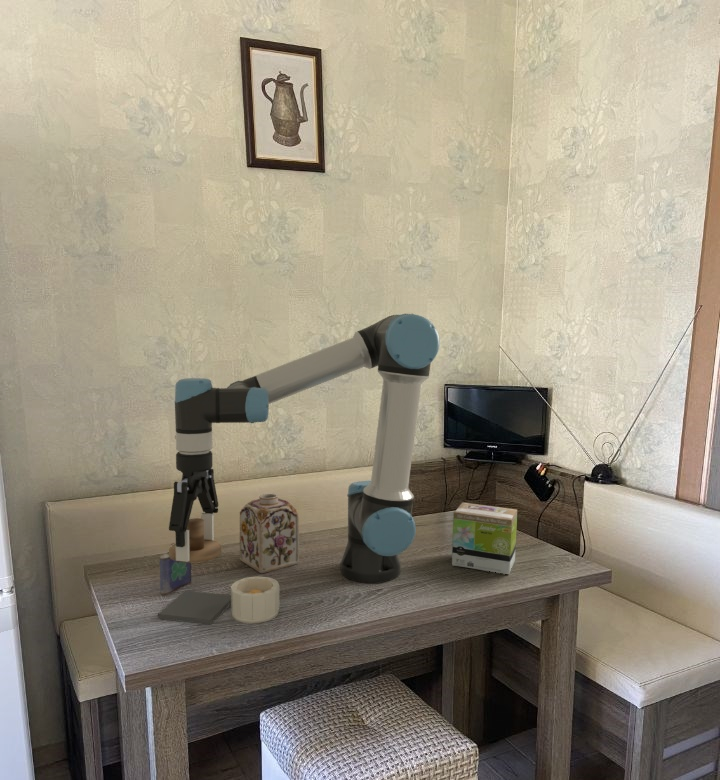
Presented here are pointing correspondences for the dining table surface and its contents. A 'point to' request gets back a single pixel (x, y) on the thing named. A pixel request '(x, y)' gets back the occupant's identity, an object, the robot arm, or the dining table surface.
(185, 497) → the robot arm
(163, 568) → the flask
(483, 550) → the tea box
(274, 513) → the decorative jar
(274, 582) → the bowl
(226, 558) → the dining table surface
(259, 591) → the apricot
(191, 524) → the lid
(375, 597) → the dining table surface
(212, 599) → the mat
